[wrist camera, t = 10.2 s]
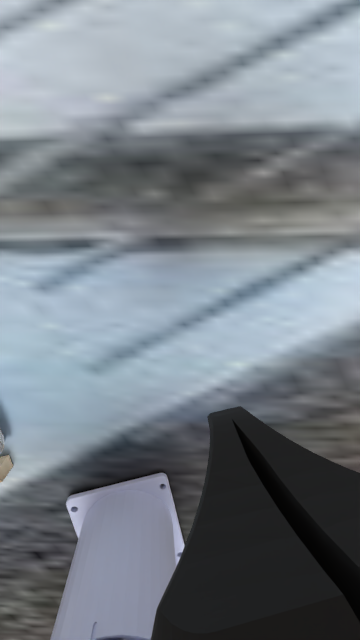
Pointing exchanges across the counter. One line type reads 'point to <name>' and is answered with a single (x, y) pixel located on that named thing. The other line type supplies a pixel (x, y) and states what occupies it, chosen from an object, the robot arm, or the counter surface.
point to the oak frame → (5, 466)
